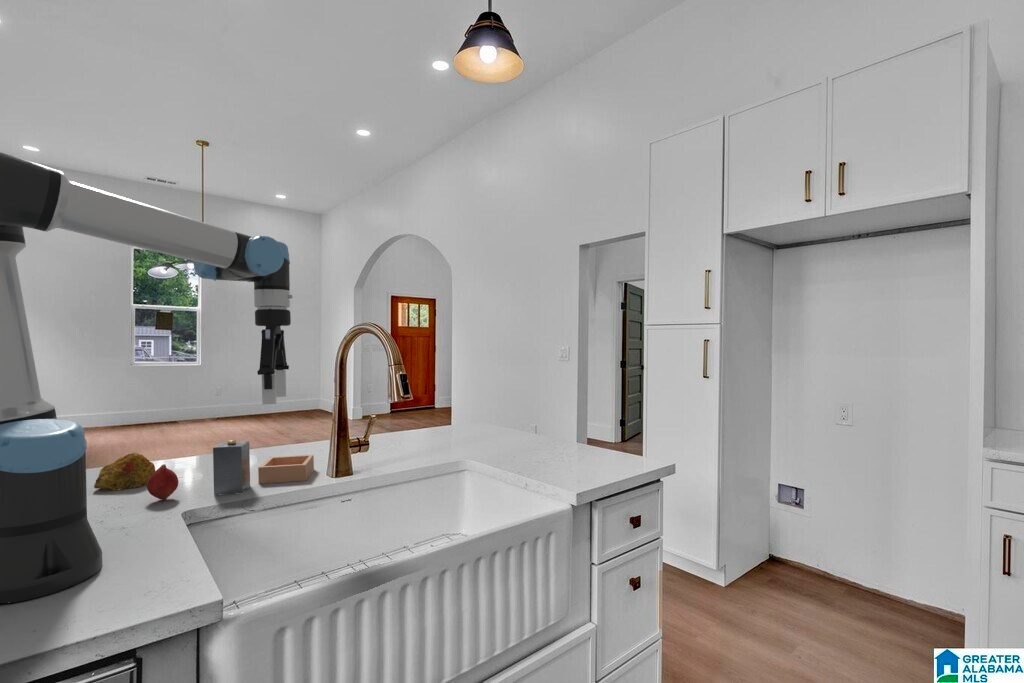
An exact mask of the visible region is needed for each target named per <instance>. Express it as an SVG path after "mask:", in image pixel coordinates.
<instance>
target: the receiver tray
mask: <svg viewBox="0 0 1024 683" xmlns="http://www.w3.org/2000/svg"><path fill="white" fill-rule="evenodd" d="M314 458H315V457H314V454H305V455H287V456H270V457H268V458H267V459H266V460H265V461H264V462H263V463H261V465H259V466H258V471H257V472H258V474H257V476H258V484H259V483H263V484H277V483H278V482H279V483H291V482H290V481H294V482H305V481H307V480H308V479H309V477H310V476H311V474H312V473H313V471H314V470H315V466H314V464H315V462H314V461H315V459H314ZM307 478H308V479H307ZM274 482H275V483H274Z"/></svg>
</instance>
